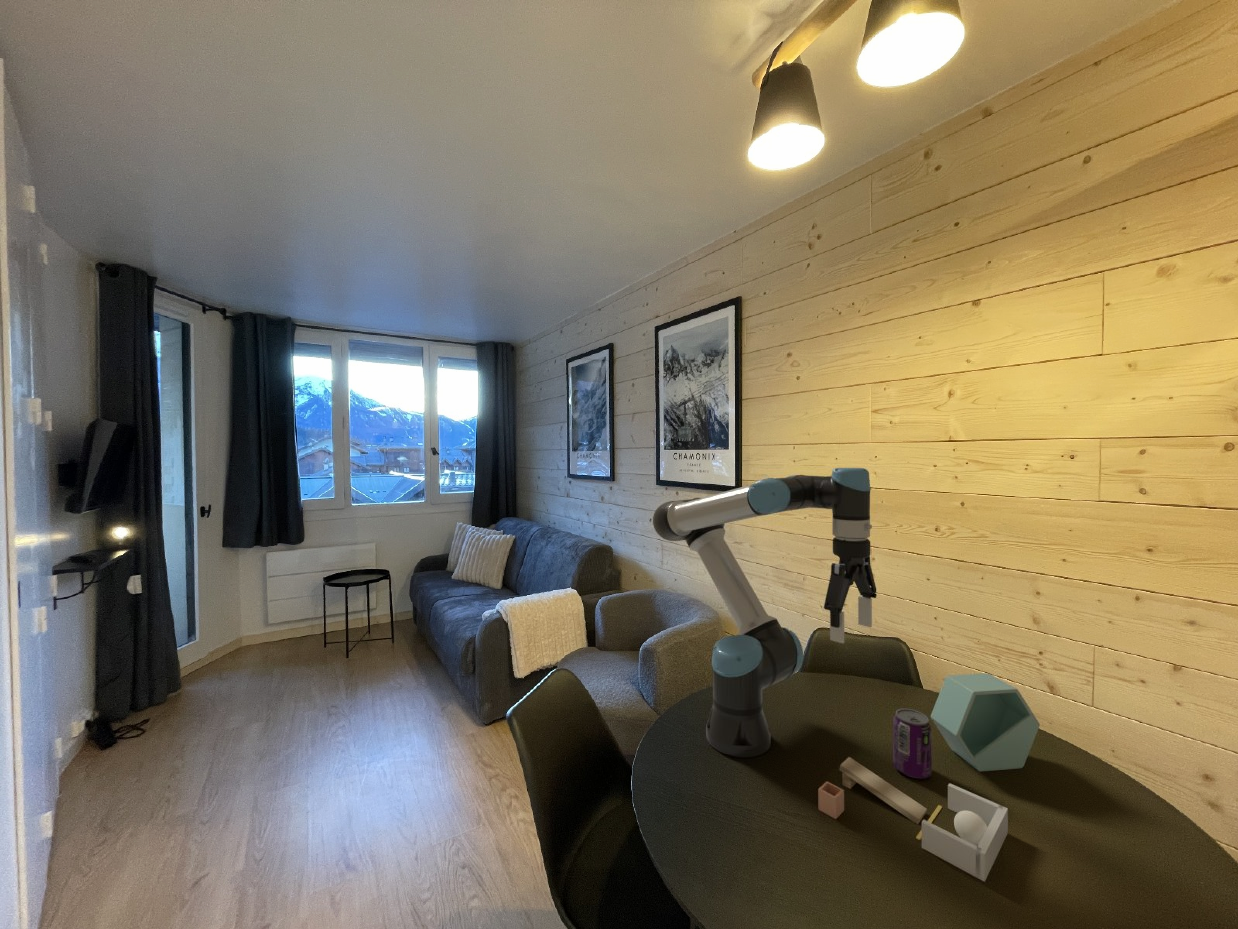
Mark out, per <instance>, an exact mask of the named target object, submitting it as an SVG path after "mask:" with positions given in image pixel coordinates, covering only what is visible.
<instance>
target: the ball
mask: <svg viewBox="0 0 1238 929" xmlns="http://www.w3.org/2000/svg"><path fill="white" fill-rule="evenodd" d="M953 825H954V829H955V831H956V833H957V835H958V837H960V838H962V839H964V840H966V841H967V842H969V843H971V844H973V845H975V846H978V845H979V843H980V841H981V839H982V837H983V835H984V833H985V831H986V830H987V828H988V827H987V825H986V823H985V822H984V821H983V819H982V818H981V817H980V816H978V815H977V814H975V813H973V812H971V811H960V812H959V813H957V812H956V814H955V816H954V819H953Z"/></svg>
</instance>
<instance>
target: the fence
mask: <svg viewBox="0 0 1238 929" xmlns="http://www.w3.org/2000/svg"><path fill="white" fill-rule="evenodd" d="M947 809H949V810H950V811H952V812H954V813H956V814H957V813H959V812H960V811H971V812H973V813H975V814H977V815H978V816H980V817H981V818H982V819H983V821H984V822H985V823H986V825H987V827H988V828H987V830H986V831H985V833H984V835H983V837H982V839H981V841H980V843H979V845H978V846H975V845H973V844H971V843H969V842H967V841H966V840H964V839H962V838H961V837H960V836H959V835H958V836H957V835H955V834H953V833H952V832H950V831H947V830H946V829H944V828H941V827H940V826H937V825H936V824H933V822H932V823H930V822H928V820H926V819H922V820H921V829H922V838H921V848H922V849H923V850H925V851H927V852H929V853H930V854H933V855H934V856H936V857H938V858H940V859H942V860H944V861H945V862H947V863H949V864H951V865H953V866H954V867H956V868H958V869H959V870H962V871H964V872H965V873H968V874H969V875H971V876H973V877H975V878H976V879H979V880H980V881H982V882H986V880H987V878H988V876H989V873H990V871H991V869H992V868H993V865H994V864H995V861H996V859H997V857H998V855H999V852H1000V850H1001V848H1002V846H1003V844H1004V842H1005V840H1006V837H1007V836H1008V834H1009V832H1008V831H1009V821H1008V820H1009V809H1008V807H1006V806H1003V805H1000V804H999V803H996V802H994V801H992V800H989V799H987V798H984V797H982V796H980V795H977V794H975V793H973V792H970V791H968V790H967V789H964V788H961V787H959V786H957V785H954V784H952V783H948V785H947Z"/></svg>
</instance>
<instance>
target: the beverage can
mask: <svg viewBox="0 0 1238 929" xmlns="http://www.w3.org/2000/svg"><path fill="white" fill-rule="evenodd" d="M929 719H930V718H929V717H928V716H927V715H926V714H925V713H923V712H921V711H918V710H915V709H912V708H898V709H897V710H895V715H894V717H893V719H892V740H893V741H892V764H893V766H894V768H895V769H896V770H897V771H899V772H901V773H902V774H904V775H905V776H907V777H910V778H913V779H927V778H929V777H931V776H932V772H933V771H932V764H933V763H932V759H933V758H932V749H933V748H932V747H933V746H932V743H933V742H932V741H933V740H932V726H931V725H930V720H929Z"/></svg>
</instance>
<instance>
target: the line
mask: <svg viewBox="0 0 1238 929" xmlns="http://www.w3.org/2000/svg"><path fill="white" fill-rule="evenodd" d="M942 808H943V806H942V805H939V804H938V805H937V807H936V808H935V809H934V811H933V812H932V814H930V816H929V818H928V819H927V821H928V822H930V823H932V824H933V821H934V820H935V819H936V817H937V816H938V815H939V813H940V811H941V810H942ZM915 839H916V840H918V841H921V840H922V828H921V829H920V831H919V832H918V834H917V835H916V836H915Z"/></svg>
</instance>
